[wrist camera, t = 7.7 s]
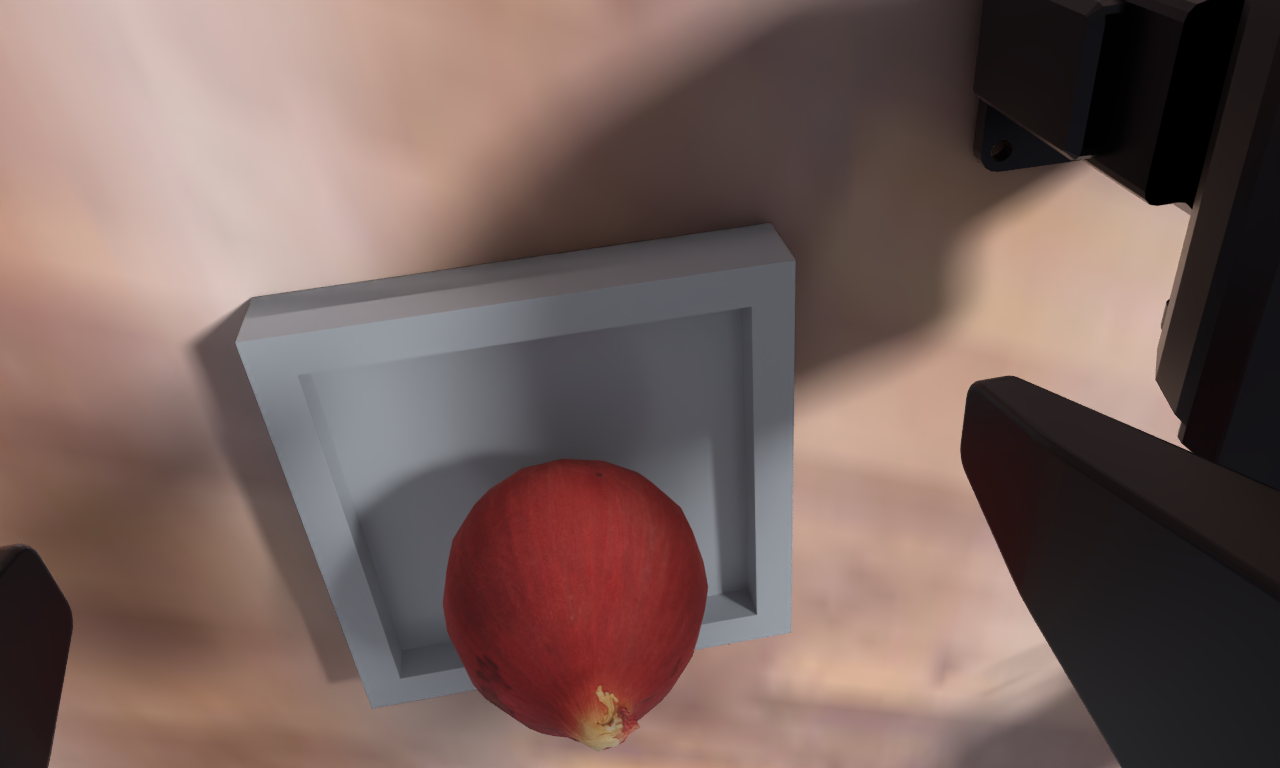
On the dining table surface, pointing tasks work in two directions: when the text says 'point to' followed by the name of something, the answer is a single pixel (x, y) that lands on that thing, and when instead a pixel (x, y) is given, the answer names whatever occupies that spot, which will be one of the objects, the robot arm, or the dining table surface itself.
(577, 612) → the onion
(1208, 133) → the robot arm
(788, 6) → the dining table surface
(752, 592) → the dish
